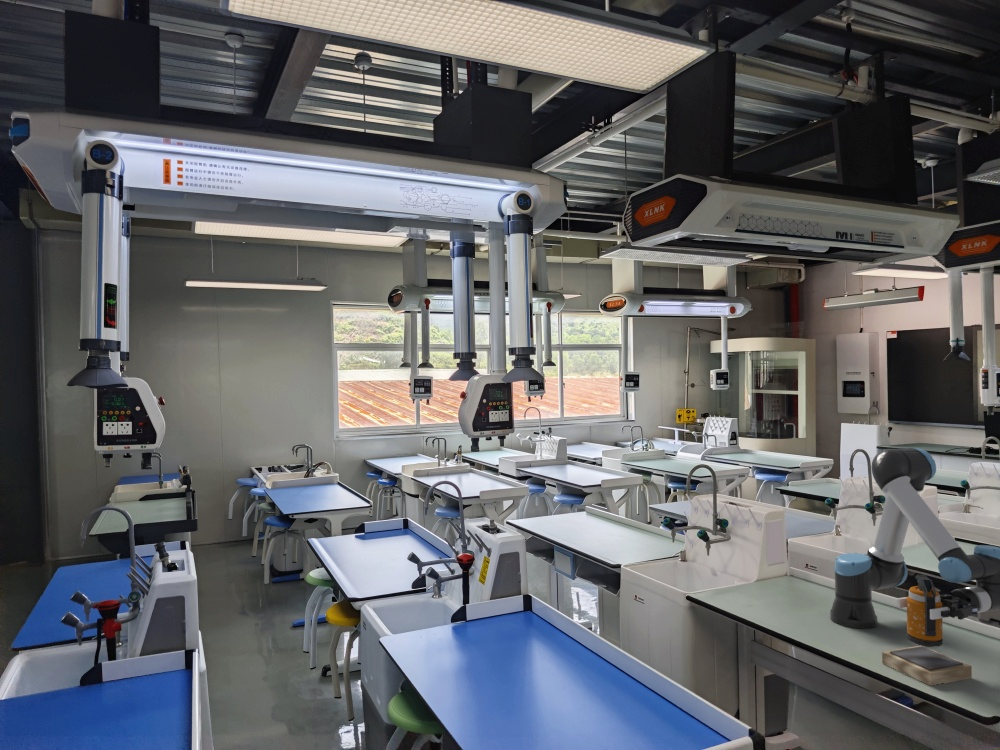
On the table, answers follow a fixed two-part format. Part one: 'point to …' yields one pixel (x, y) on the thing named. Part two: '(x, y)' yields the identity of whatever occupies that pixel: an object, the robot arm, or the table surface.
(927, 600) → the canister
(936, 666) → the plinth
